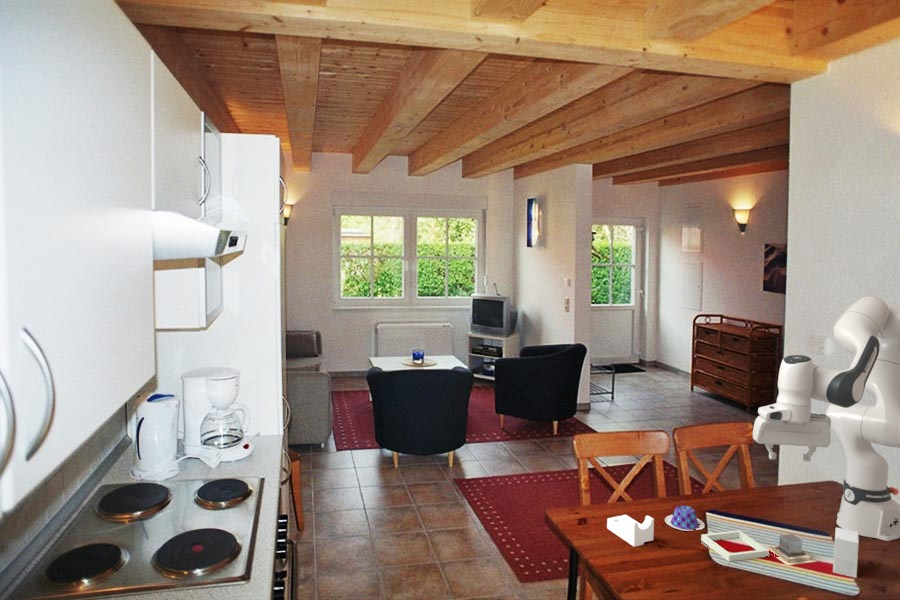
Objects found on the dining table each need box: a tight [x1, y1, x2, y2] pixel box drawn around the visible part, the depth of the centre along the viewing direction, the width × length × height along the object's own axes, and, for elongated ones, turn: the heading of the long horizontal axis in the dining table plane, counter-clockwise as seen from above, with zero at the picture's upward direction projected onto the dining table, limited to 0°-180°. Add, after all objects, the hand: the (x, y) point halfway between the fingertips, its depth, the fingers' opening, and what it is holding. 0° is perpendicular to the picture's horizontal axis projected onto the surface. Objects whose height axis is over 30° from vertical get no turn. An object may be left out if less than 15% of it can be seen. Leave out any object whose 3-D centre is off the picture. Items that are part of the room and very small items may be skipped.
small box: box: [832, 527, 860, 579], centre depth 179 cm, size 8×6×10 cm
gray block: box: [778, 533, 803, 557], centre depth 187 cm, size 4×4×5 cm
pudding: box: [664, 505, 706, 532], centre depth 208 cm, size 12×12×5 cm
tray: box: [700, 529, 770, 565], centre depth 191 cm, size 13×13×2 cm
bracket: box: [606, 514, 655, 547], centre depth 200 cm, size 13×7×8 cm, turn 23°
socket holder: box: [767, 544, 818, 566], centre depth 187 cm, size 10×10×2 cm
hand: (789, 459), depth 188 cm, fingers open, 8 cm apart
